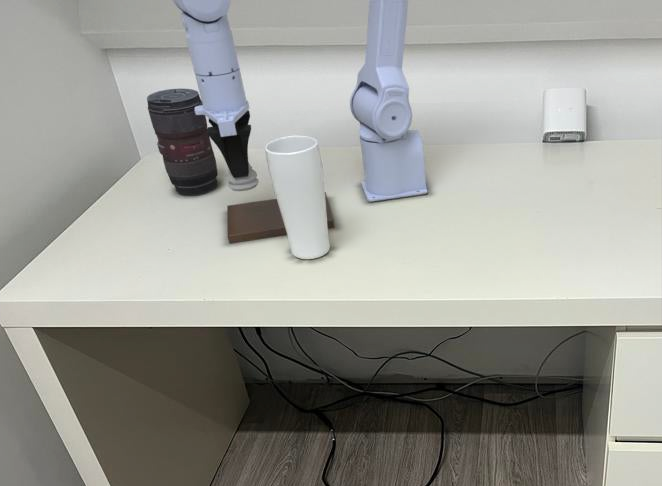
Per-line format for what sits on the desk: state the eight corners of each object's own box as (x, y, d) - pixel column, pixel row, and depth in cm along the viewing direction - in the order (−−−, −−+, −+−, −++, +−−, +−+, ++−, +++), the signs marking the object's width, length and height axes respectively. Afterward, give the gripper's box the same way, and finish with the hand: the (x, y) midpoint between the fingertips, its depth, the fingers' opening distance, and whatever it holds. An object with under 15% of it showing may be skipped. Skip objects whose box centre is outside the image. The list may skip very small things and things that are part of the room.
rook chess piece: (265, 181, 108) (253, 125, 103) (249, 193, 104) (235, 136, 100) (239, 178, 109) (226, 123, 104) (221, 190, 106) (207, 134, 101)
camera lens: (208, 199, 119) (183, 103, 110) (163, 197, 120) (134, 102, 111) (231, 179, 125) (208, 87, 116) (187, 177, 127) (161, 86, 118)
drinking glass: (313, 267, 99) (292, 157, 90) (276, 256, 102) (252, 148, 93) (346, 246, 103) (329, 139, 94) (309, 237, 106) (289, 132, 97)
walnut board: (326, 198, 117) (325, 191, 116) (334, 227, 108) (333, 220, 108) (229, 212, 114) (227, 205, 114) (229, 243, 106) (227, 235, 105)
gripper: (187, 60, 102) (212, 157, 110) (183, 88, 91) (211, 194, 99) (240, 54, 103) (260, 151, 112) (242, 82, 92) (264, 187, 100)
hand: (240, 171), depth 105 cm, fingers closed on rook chess piece, 3 cm apart
